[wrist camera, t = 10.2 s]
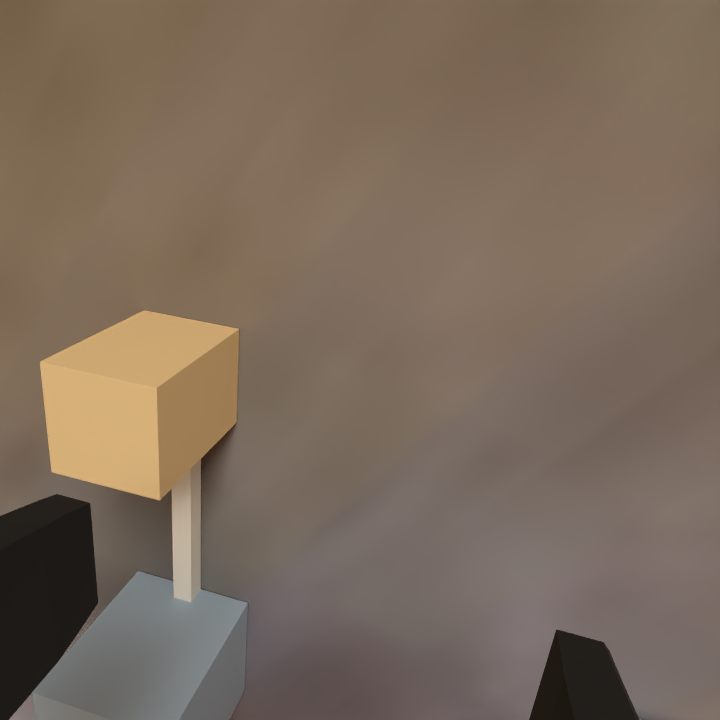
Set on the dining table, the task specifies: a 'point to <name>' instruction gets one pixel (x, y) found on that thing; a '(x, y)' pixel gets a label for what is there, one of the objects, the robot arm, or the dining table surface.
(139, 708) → the tethered block
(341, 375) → the dining table surface
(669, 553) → the dining table surface
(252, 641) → the dining table surface
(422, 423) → the dining table surface
